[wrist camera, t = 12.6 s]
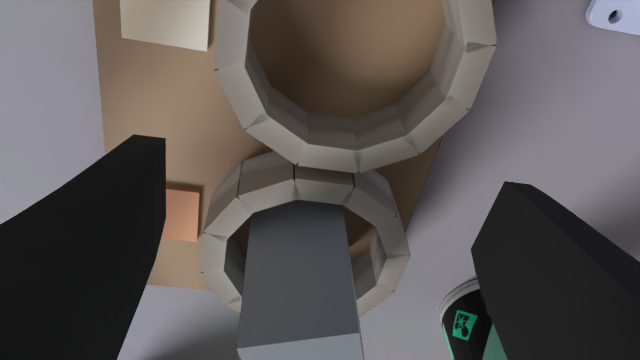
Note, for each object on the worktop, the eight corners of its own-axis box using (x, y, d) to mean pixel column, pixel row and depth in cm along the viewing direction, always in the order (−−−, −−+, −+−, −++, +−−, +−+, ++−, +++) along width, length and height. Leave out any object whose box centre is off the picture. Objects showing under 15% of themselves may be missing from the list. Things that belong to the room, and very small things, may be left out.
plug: (339, 184, 22) (359, 333, 15) (349, 247, 24) (370, 399, 18) (253, 196, 22) (236, 348, 15) (271, 258, 24) (263, 412, 18)
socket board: (522, -103, 16) (570, -90, 13) (374, 291, 28) (383, 343, 25) (88, -203, 14) (37, -212, 11) (121, 267, 26) (100, 321, 23)
